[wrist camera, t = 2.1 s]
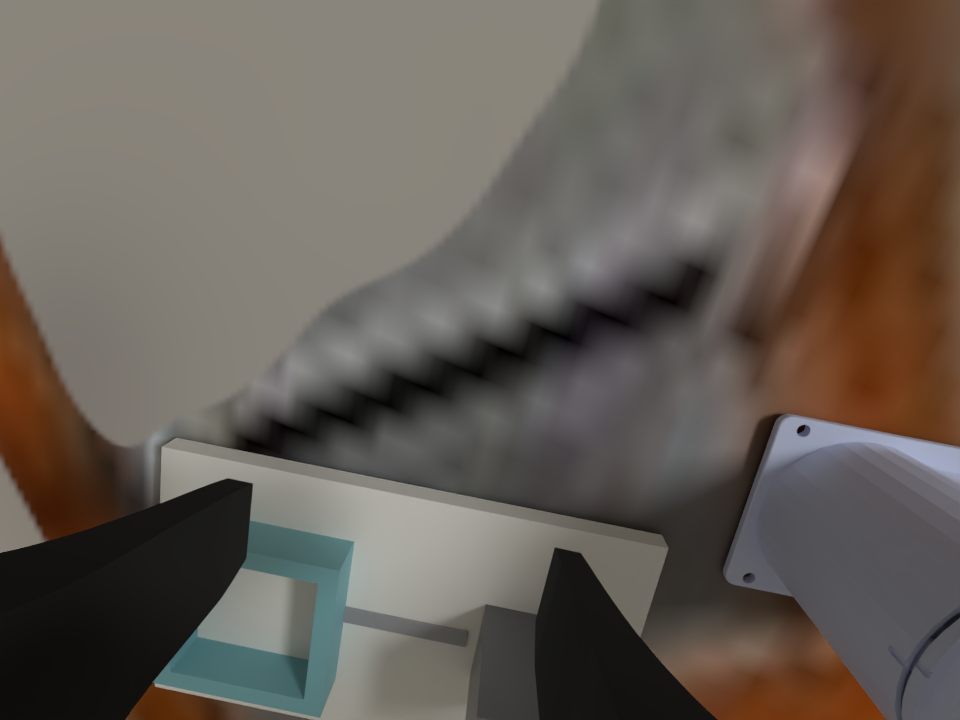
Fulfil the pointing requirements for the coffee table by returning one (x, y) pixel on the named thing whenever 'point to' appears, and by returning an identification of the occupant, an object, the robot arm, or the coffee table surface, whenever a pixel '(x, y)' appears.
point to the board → (375, 587)
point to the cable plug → (504, 667)
